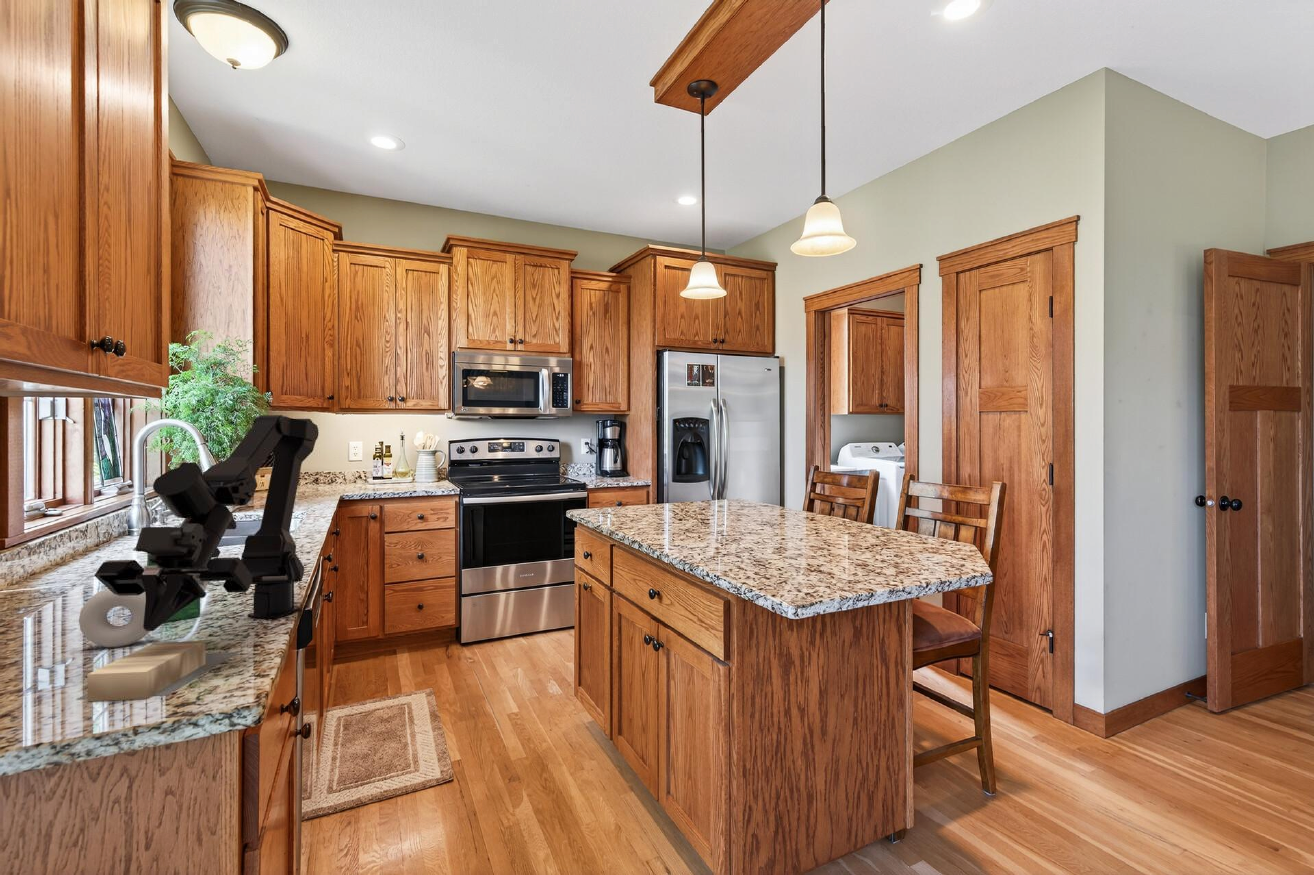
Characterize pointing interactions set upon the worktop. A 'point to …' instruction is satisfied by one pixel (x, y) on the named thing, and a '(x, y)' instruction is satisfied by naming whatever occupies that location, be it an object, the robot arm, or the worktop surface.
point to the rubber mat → (192, 673)
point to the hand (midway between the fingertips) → (147, 629)
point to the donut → (100, 628)
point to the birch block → (145, 671)
